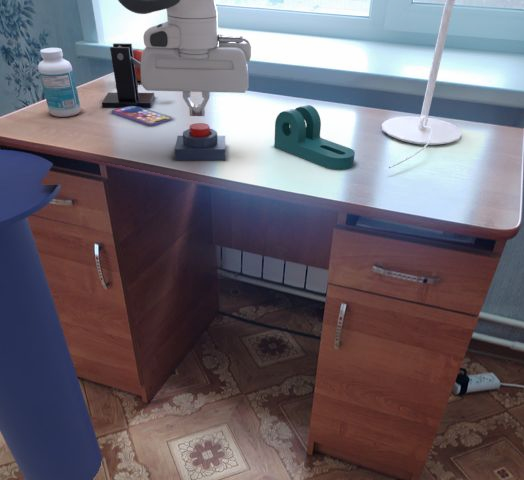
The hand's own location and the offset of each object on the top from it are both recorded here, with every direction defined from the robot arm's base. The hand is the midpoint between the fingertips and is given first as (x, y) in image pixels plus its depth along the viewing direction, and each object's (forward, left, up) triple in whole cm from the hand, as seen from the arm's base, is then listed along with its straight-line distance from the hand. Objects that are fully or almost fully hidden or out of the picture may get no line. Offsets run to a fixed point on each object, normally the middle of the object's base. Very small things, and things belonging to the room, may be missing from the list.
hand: (197, 115), depth 100 cm
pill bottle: (-34, +26, -8) cm, 43 cm away
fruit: (-20, +56, -8) cm, 60 cm away
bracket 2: (+24, -1, -8) cm, 25 cm away
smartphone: (-15, +24, -8) cm, 30 cm away
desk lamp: (+48, +5, -8) cm, 49 cm away
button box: (0, 0, -7) cm, 7 cm away
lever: (-16, +35, -1) cm, 38 cm away
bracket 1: (-20, +35, -7) cm, 41 cm away
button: (0, 0, -4) cm, 4 cm away
